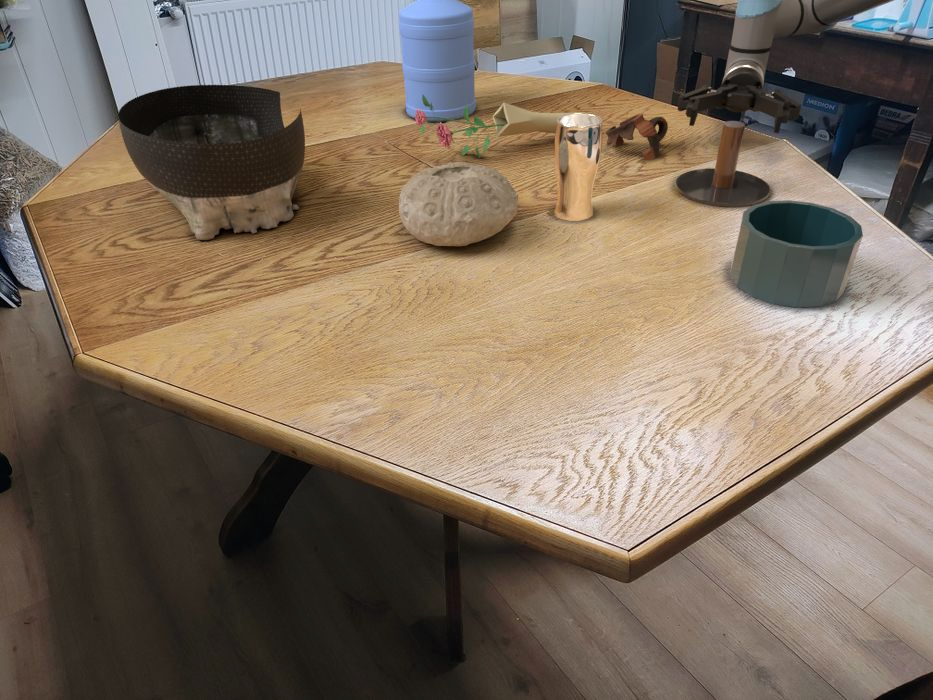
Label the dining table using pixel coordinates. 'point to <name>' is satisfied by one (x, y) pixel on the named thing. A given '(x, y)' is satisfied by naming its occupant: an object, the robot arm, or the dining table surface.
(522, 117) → the flower vase
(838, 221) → the pot
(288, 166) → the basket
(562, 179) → the beer glass
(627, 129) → the twisted brown loop sculpture
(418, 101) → the water jug
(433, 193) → the decorative shell
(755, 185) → the lid
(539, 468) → the dining table surface
